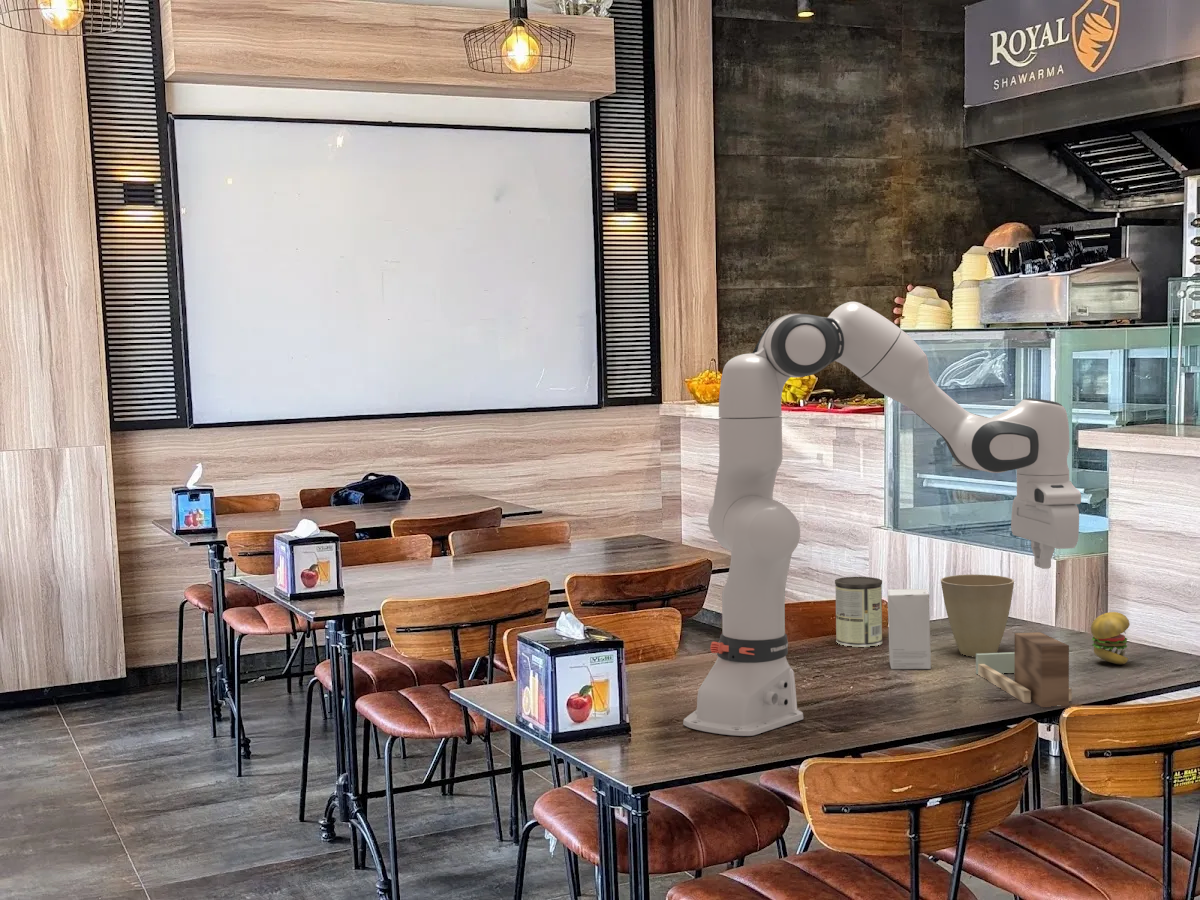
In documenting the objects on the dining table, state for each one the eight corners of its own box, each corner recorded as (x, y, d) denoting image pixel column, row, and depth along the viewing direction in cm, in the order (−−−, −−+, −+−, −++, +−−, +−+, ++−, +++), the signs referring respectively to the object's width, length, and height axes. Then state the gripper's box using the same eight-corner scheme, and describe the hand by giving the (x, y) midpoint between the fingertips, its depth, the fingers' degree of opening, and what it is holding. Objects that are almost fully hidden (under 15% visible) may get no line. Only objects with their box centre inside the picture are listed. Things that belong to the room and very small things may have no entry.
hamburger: (1137, 667, 261) (1137, 607, 260) (1106, 669, 259) (1106, 610, 259) (1113, 658, 269) (1113, 601, 268) (1082, 661, 267) (1082, 603, 266)
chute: (1071, 701, 236) (1071, 689, 236) (1024, 703, 235) (1024, 691, 235) (1021, 673, 258) (1021, 662, 258) (978, 674, 257) (978, 663, 257)
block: (1068, 706, 233) (1068, 645, 232) (1041, 707, 232) (1041, 646, 232) (1040, 690, 245) (1040, 632, 244) (1014, 691, 244) (1014, 633, 243)
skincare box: (929, 663, 268) (928, 588, 267) (931, 670, 261) (931, 593, 260) (887, 662, 269) (887, 587, 268) (888, 669, 263) (888, 593, 262)
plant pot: (984, 644, 285) (984, 572, 284) (1029, 657, 271) (1029, 582, 270) (926, 650, 280) (926, 577, 279) (968, 664, 266) (968, 587, 265)
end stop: (1021, 673, 258) (1021, 653, 257) (978, 674, 257) (978, 655, 257) (1019, 671, 259) (1019, 651, 259) (975, 673, 258) (975, 653, 258)
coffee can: (841, 636, 296) (841, 575, 295) (886, 640, 291) (886, 577, 290) (830, 646, 286) (829, 582, 285) (877, 649, 282) (876, 584, 281)
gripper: (1002, 485, 240) (1002, 559, 241) (1050, 495, 220) (1049, 577, 221) (1035, 484, 241) (1035, 558, 241) (1086, 494, 220) (1085, 575, 221)
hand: (1042, 567), depth 231 cm, fingers closed
